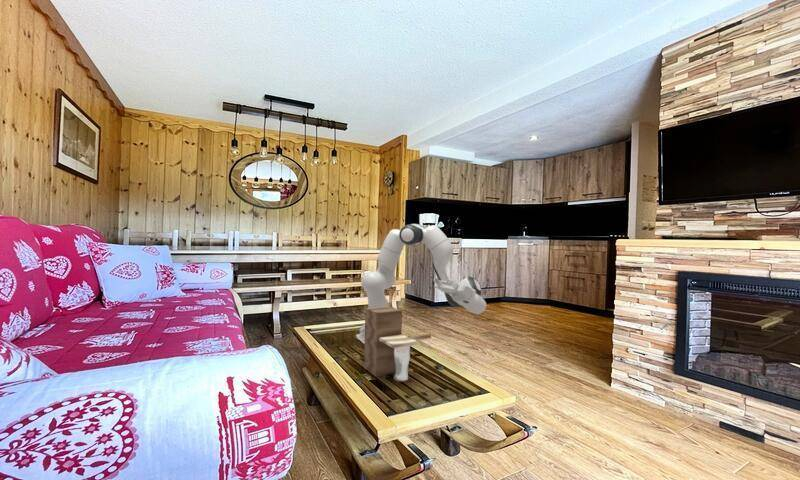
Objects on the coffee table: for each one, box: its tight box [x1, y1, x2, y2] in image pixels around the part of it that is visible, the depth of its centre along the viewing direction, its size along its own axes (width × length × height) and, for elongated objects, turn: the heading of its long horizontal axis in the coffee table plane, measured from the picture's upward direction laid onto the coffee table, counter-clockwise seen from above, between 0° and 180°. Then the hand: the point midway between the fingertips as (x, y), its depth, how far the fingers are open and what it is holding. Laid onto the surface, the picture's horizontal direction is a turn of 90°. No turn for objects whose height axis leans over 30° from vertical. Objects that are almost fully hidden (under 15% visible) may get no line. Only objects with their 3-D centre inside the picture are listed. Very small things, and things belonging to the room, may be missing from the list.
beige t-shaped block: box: [379, 332, 432, 348], centre depth 140 cm, size 11×21×2 cm, turn 122°
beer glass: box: [393, 345, 411, 383], centre depth 138 cm, size 7×7×15 cm
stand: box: [363, 305, 403, 378], centre depth 147 cm, size 11×12×26 cm
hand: (441, 280), depth 154 cm, fingers open, 8 cm apart
